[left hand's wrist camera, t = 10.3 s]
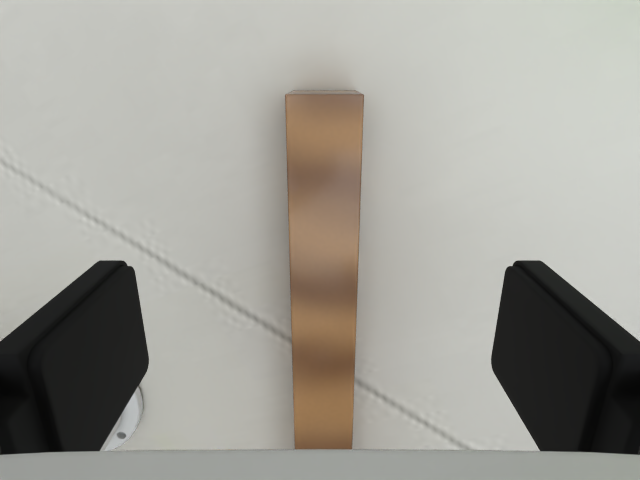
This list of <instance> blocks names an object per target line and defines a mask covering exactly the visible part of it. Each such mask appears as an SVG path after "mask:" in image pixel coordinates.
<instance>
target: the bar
mask: <svg viewBox="0 0 640 480" xmlns="http://www.w3.org/2000/svg"><path fill="white" fill-rule="evenodd" d="M363 104H364V95H363V94H361V93H359V92H357V91H291V92H290V93H288V94H286V95H285V105H286V141H287V178H288V215H289V252H290V288H291V325H292V362H293V398H294V435H295V449H352V431H353V402H354V372H355V342H356V312H357V283H358V253H359V223H360V193H361V164H362V134H363Z"/></svg>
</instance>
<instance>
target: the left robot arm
mask: <svg viewBox="0 0 640 480" xmlns="http://www.w3.org/2000/svg"><path fill="white" fill-rule="evenodd" d="M148 364H149V357H148V350H147V344H146V338H145V332H144V326H143V319H142V313H141V307H140V301H139V295H138V288H137V282H136V276H135V271H134V269H133V267H131V266H127V264H126V262H124V261H98V262H97V263H96V264H94V265H93V266H92V267H91V268H89V269H88V270H87V271H86V272H85V273H83V274H82V275H81V276H80V277H78V278H77V279H76V280H75V281H74V282H72V283H71V284H70V285H69V286H67V287H66V288H65V289H64V290H63V291H61V292H60V293H59V294H58V295H57V296H55V297H54V298H53V299H52V300H50V301H49V302H48V303H47V304H46V305H44V306H43V307H42V308H41V309H39V310H38V311H37V312H36V313H35V314H33V315H32V316H31V317H30V318H28V319H27V320H26V321H25V322H24V323H22V324H21V325H20V326H19V327H18V328H16V329H15V330H14V331H13V332H11V333H10V334H9V335H8V336H7V337H5V338H4V339H3V340H2V341H0V480H640V341H638V340H637V339H636V338H635V337H633V336H632V335H631V334H630V333H629V332H627V331H626V330H625V329H624V328H622V327H621V326H620V325H619V324H618V323H616V322H615V321H614V320H613V319H612V318H610V317H609V316H608V315H607V314H605V313H604V312H603V311H602V310H601V309H599V308H598V307H597V306H596V305H594V304H593V303H592V302H591V301H590V300H588V299H587V298H586V297H585V296H583V295H582V294H581V293H580V292H579V291H577V290H576V289H575V288H574V287H573V286H571V285H570V284H569V283H568V282H566V281H565V280H564V279H563V278H562V277H560V276H559V275H558V274H557V273H555V272H554V271H553V270H552V269H551V268H549V267H548V266H547V265H546V264H544V263H543V262H542V261H516V262H514V264H513V266H509V267H507V269H506V271H505V276H504V282H503V288H502V294H501V301H500V307H499V313H498V319H497V326H496V332H495V338H494V344H493V350H492V357H491V364H492V369H493V372H494V374H495V375H496V377H497V379H498V380H499V382H500V384H501V385H502V387H503V389H504V391H505V392H506V394H507V396H508V397H509V399H510V401H511V402H512V404H513V406H514V407H515V409H516V411H517V412H518V414H519V416H520V418H521V419H522V421H523V423H524V424H525V426H526V428H527V429H528V431H529V433H530V434H531V436H532V438H533V439H534V441H535V443H536V445H537V446H538V448H539V450H540V451H499V450H362V449H278V450H141V451H110V450H113V449H115V448H117V447H119V446H120V445H122V444H124V443H125V442H126V441H127V440H128V439H129V438H130V437H131V436H132V434H133V433H134V431H135V430H136V428H137V426H138V424H139V422H140V420H141V416H142V411H143V399H142V396H141V392H140V389H139V387H138V385H139V384H140V382H141V380H142V379H143V377H144V375H145V374H146V372H147V369H148Z"/></svg>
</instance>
